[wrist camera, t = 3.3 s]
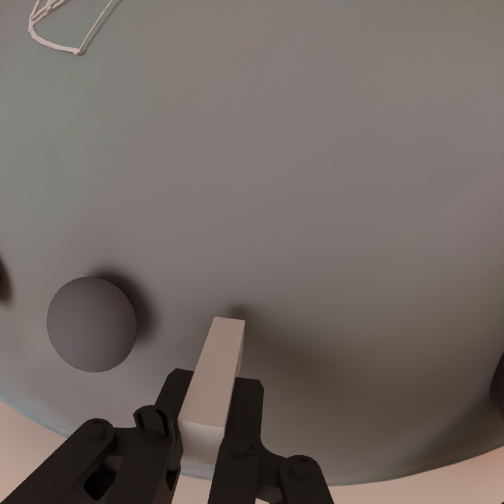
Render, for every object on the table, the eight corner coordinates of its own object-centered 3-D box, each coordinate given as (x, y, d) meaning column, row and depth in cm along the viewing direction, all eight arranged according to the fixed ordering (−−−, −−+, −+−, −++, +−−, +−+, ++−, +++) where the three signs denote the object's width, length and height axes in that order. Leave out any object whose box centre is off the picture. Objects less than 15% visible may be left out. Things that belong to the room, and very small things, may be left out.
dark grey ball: (167, 313, 17) (129, 371, 12) (121, 351, 18) (84, 402, 13) (106, 245, 16) (48, 281, 11) (68, 293, 17) (19, 332, 12)
